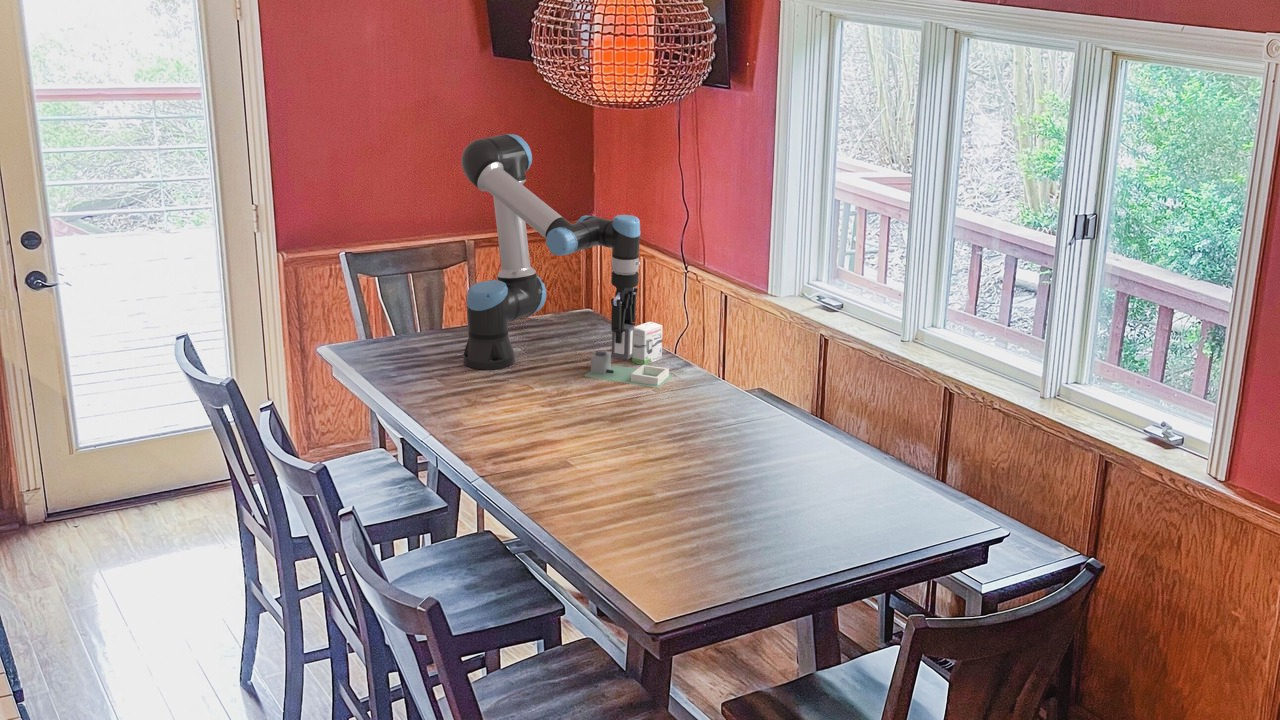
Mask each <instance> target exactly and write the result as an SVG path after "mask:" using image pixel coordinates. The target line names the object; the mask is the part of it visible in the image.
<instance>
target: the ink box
mask: <svg viewBox="0 0 1280 720" xmlns="http://www.w3.org/2000/svg"><path fill="white" fill-rule="evenodd" d="M662 354H663V324H659V323H656V322H653V321H647V322H645V323H641V324H638V325H635V326H634V351H633V356H632V357H631V363H634V364H637V365H641V366H642V365H649V364H651V363H653V362H656V361H658V360H662V358H663V357H662V356H663V355H662Z"/></svg>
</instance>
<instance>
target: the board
mask: <svg viewBox="0 0 1280 720" xmlns="http://www.w3.org/2000/svg"><path fill="white" fill-rule="evenodd" d="M637 369H638V368H634V367H628V366H622V365H621V366H620V365H614V364H611V369H610V370H613V371H614V372H613V373H610V372H606V373H604V374H601V373H594V372H591V370H590V371H588V372H587V373H586V374H584V375H583V377H586V378H592V379H598V380H605V381H612V382H617V383H618V382H619V383H624V384H630V385H635V386H642V387H648V388H655V389H659V388H661V386H663V385H664V384H665V383H666V382H668V381H669V380H670V379H671V378H672V377H673V376H674V374H673V373H669V376H668V377H667V378H666V379H665V380H664V381H662V382H661V383H660V384H659V385H658V386H657V385H651V384H644V383H638V382H632V381H631V374H632V373H633V372H634V371H635V370H637ZM643 375H647V376H654V377H657V376H658V375H653V374H646V373H644V374H643Z"/></svg>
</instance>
